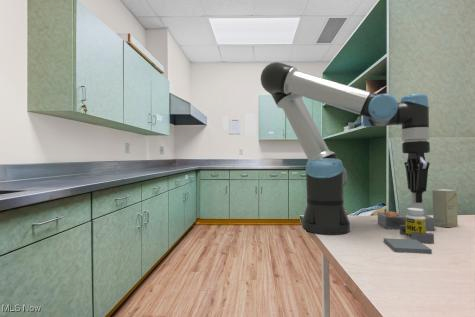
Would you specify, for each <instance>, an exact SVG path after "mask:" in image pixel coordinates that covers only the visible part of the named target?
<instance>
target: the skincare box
mask: <svg viewBox="0 0 475 317" xmlns="http://www.w3.org/2000/svg"><path fill="white" fill-rule="evenodd" d="M431 193H432V216H433V217H432V218H434V226H435V227H436V226H437V227H442V228H452V227H458V226H459V222H458V200H457V199H458V198H457V190H456V189H448V188H447V189H445V188H443V189H441V188H439V189H432V191H431Z"/></svg>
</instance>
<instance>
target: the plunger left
mask: <svg viewBox="0 0 475 317" xmlns="http://www.w3.org/2000/svg"><path fill="white" fill-rule="evenodd" d="M385 212H386V216H397V214H396V213H397V212H396V211H387V210H386V211H385Z"/></svg>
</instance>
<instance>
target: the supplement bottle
mask: <svg viewBox="0 0 475 317" xmlns="http://www.w3.org/2000/svg"><path fill="white" fill-rule="evenodd" d="M406 213H407V215H406V235H405V237H406V239H412V234H411V232H420V233H427V231H426V218H425V217H424V216H423V215H424V214H425V211H424V208H423V209H419V208H412V207H407V208H406Z"/></svg>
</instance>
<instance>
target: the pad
mask: <svg viewBox="0 0 475 317" xmlns="http://www.w3.org/2000/svg"><path fill="white" fill-rule="evenodd" d="M383 243H384V244H385V245H387V246H388V247H389V248H390V249H391V250H392V251H394V252H395V253H407V254H409V253H412V254H413V253H414V254H427V255H429V254H430V255H432V254H433V251H432V250H433V249H432V248H430V247H428V246H427V245H426V244H425V243H421V242H419V241H418V240H415V239H409V238H389V237H388V238H386V237H384V238H383Z"/></svg>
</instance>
